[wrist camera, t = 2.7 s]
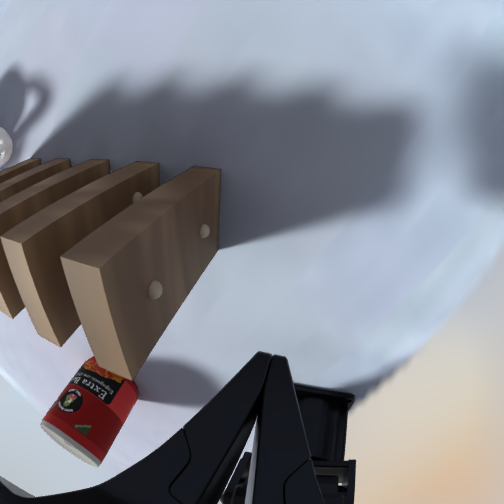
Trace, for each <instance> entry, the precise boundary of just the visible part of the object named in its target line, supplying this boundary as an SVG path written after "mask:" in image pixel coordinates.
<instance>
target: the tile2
mask: <svg viewBox="0 0 504 504" xmlns="http://www.w3.org/2000/svg"><path fill="white" fill-rule="evenodd" d="M158 187H160V184H159V163H153V162H139V161H136V162H134V163H132V164H129V165H127V166H125V167H123V168H121V169H118V170H116V171H114V172H112V173H110V174H108V175H106V176H104V177H102V178H100V179H98V180H96V181H94V182H92V183H90V184H88V185H86V186H84V187H82V188H80V189H78V190H76V191H74V192H73V193H71V194H69V195H67V196H65V197H63V198H62V199H60V200H58V201H56V202H55V203H53V204H51V205H49V206H48V207H46V208H44V209H42V210H41V211H39V212H37V213H36V214H34V215H32V216H31V217H29V218H28V219H26V220H24V221H23V222H21V223H20V224H18V225H17V226H15V227H13V228H12V229H10V230H9V231H7V232H6V233H4V234H3V235H1V236H0V238H1V241H2V244H3V248H4V251H5V254H6V257H7V260H8V263H9V266H10V269H11V272H12V275H13V277H14V280H15V283H16V285H17V288H18V290H19V293H20V295H21V298H22V300H23V303H24V305H25V307H26V309H27V312H28V314H29V316H30V318H31V321H32V323H33V325H34V327H35V329H36V331H37V333H38V335H40V336H41V337H43V338H45V339H47V340H48V341H50V342H52V343H54V344H56V345H57V346H59V347H62V345H63V344H64V343H65V342H66V341H67V340H68V339H69V337H70V336H71V335H72V334H73V333H74V332H75V330H76V329H77V328H78V327H79V326H80V325H81V321H80V319H79V316H78V313H77V310H76V307H75V304H74V301H73V298H72V295H71V292H70V289H69V286H68V283H67V279H66V276H65V273H64V269H63V265H62V262H61V258H60V256H61V255H63V254H64V253H65V252H67V251H68V250H69V249H70V248H72V247H73V246H74V245H76V244H77V243H78V242H80V241H81V240H82V239H84V238H85V237H86V236H88V235H89V234H90V233H92V232H93V231H95V230H96V229H97V228H99V227H100V226H102V225H103V224H104V223H106V222H107V221H109V220H110V219H111V218H113V217H114V216H116V215H117V214H119V213H120V212H122V211H123V210H125V209H126V208H127V207H129V206H130V205H132V204H133V203H135V202H136V201H138V200H140V199H141V198H143V197H144V196H146V195H147V194H149V193H150V192H152V191H153V190H155V189H157V188H158Z"/></svg>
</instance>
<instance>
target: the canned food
mask: <svg viewBox="0 0 504 504" xmlns="http://www.w3.org/2000/svg"><path fill="white" fill-rule="evenodd" d="M137 398H138V389H137V387H136V385H135V383H134V382H133V381H131V380H129V379H127V378H124V377H122V376H120V375H117V374H115V373H113V372H110V371H108V370H106V369H104V368H101V367H99V366H98V363H97V361H96V359H95V357H92V358H90V359H88V360H87V361H85V363H84V364H83V365H82V366H81V368H80V369H79V370H78V372H77V373H76V374H75V376H74V377H73V378H72V380H71V381H70V382H69V384H68V385H67V386H66V388H65V389H64V390H63V392H62V393H61V394H60V396H59V397H58V398H57V400H56V401H55V402H54V404H53V405H52V407H51V408H50V409H49V411H48V412H47V414H46V415H45V417H44V418H43V420H42V422H41V424H40V426H41V428H42V429H43V430H44V431H45V432H46V433H47V434H48V435H49V436H50V437H51V438H52V439H53V440H54V441H56V442H57V443H58V444H59V445H61V446H62V447H63V448H65V449H66V450H67V451H69V452H70V453H72V454H73V455H75V456H76V457H78V458H79V459H81V460H82V461H84V462H86V463H88V464H90V465H92V466H95V467H99V465H100V464H101V463H102V461H103V459H104V458H105V456H106V454H107V453H108V451H109V449H110V447H111V445H112V444H113V442H114V440H115V438H116V436H117V435H118V433H119V431H120V429H121V428H122V426H123V424H124V422H125V420H126V419H127V417H128V415H129V413H130V412H131V410H132V408H133V406H134V405H135V403H136V401H137Z"/></svg>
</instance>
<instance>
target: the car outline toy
mask: <svg viewBox="0 0 504 504" xmlns="http://www.w3.org/2000/svg"><path fill="white" fill-rule="evenodd" d="M12 150H13V143H12V140H11V138H10V136H9V135H8V134H7V132H6V131H5V130H4V129H3V128H1V127H0V153H2V154H1V157H0V168H1V166H2V165H3V164H5V163H6V162H7V161H8V160H9V159H10V157H11V155H12Z"/></svg>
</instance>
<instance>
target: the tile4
mask: <svg viewBox="0 0 504 504" xmlns="http://www.w3.org/2000/svg"><path fill="white" fill-rule="evenodd" d="M69 168H71V164H70V159H54V160H52V161H49V162H47V163H44V164H42V165H40V166H37V167H35V168H33V169H31V170H28V171H26V172H24V173H22V174H20V175H17V176H15V177H13V178H11V179H9V180H7V181H5V182H3V183H1V184H0V202H2V201H4V200H6V199H8V198H10V197H11V196H13V195H15V194H17V193H19V192H21V191H23V190H25V189H27V188H29V187H31V186H33V185H35V184H37V183H39V182H41V181H43V180H45V179H47V178H49V177H51V176H53V175H56V174H58V173H60V172H62V171H64V170H67V169H69Z"/></svg>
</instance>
